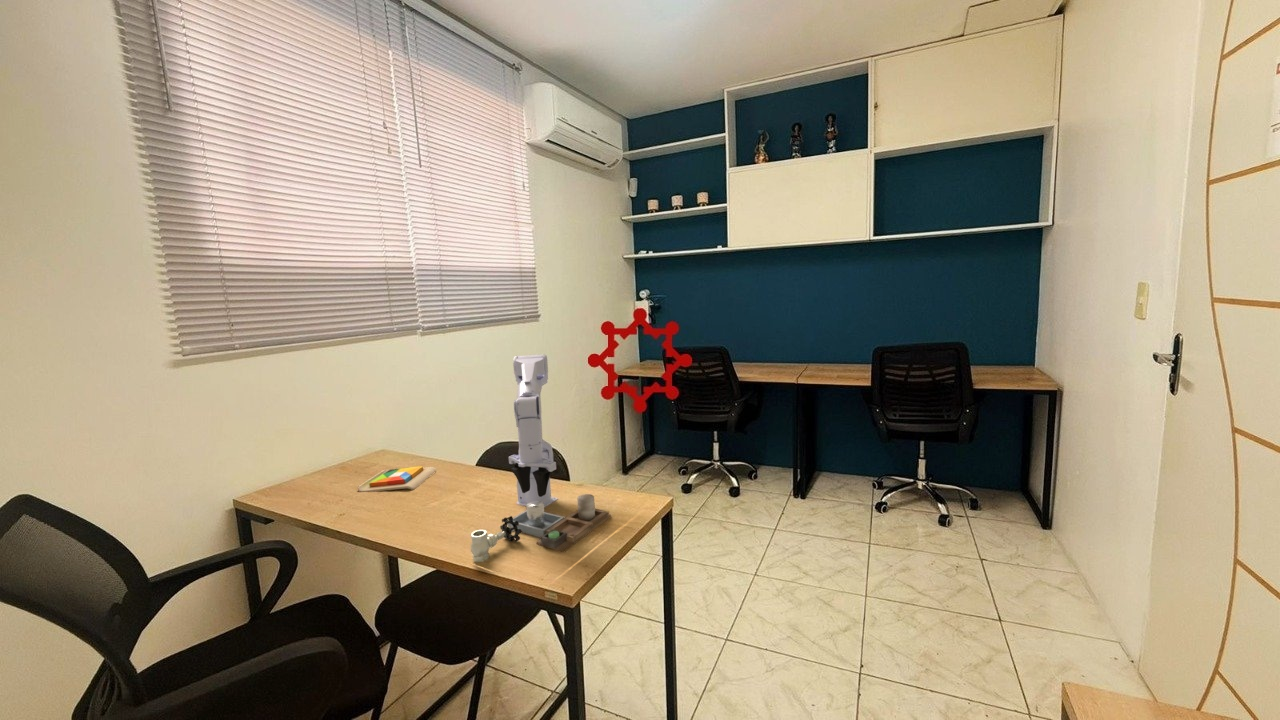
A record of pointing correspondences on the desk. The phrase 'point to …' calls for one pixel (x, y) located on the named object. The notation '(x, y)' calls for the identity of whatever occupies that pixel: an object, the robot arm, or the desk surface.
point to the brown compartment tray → (575, 525)
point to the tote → (525, 528)
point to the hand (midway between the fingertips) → (534, 493)
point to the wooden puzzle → (397, 479)
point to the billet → (536, 514)
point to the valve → (492, 539)
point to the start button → (553, 535)
